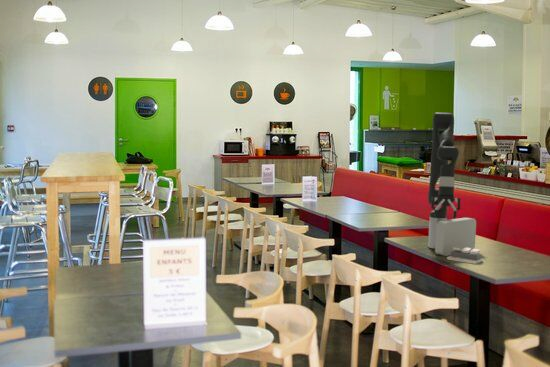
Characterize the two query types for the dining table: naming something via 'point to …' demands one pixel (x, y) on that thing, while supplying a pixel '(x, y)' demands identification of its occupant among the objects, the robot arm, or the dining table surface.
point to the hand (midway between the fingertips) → (445, 218)
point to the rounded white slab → (455, 235)
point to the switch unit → (465, 257)
